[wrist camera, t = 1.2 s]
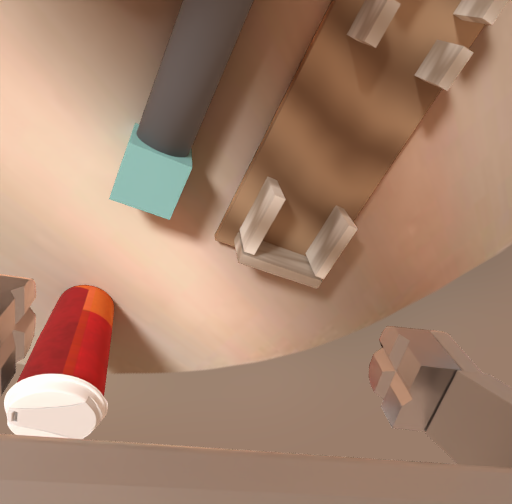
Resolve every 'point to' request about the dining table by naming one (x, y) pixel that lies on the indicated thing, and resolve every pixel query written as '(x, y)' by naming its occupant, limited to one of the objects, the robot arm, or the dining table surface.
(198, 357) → the dining table surface
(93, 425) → the paper cup
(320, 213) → the wooden cradle
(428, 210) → the dining table surface
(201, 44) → the grey and teal rod
